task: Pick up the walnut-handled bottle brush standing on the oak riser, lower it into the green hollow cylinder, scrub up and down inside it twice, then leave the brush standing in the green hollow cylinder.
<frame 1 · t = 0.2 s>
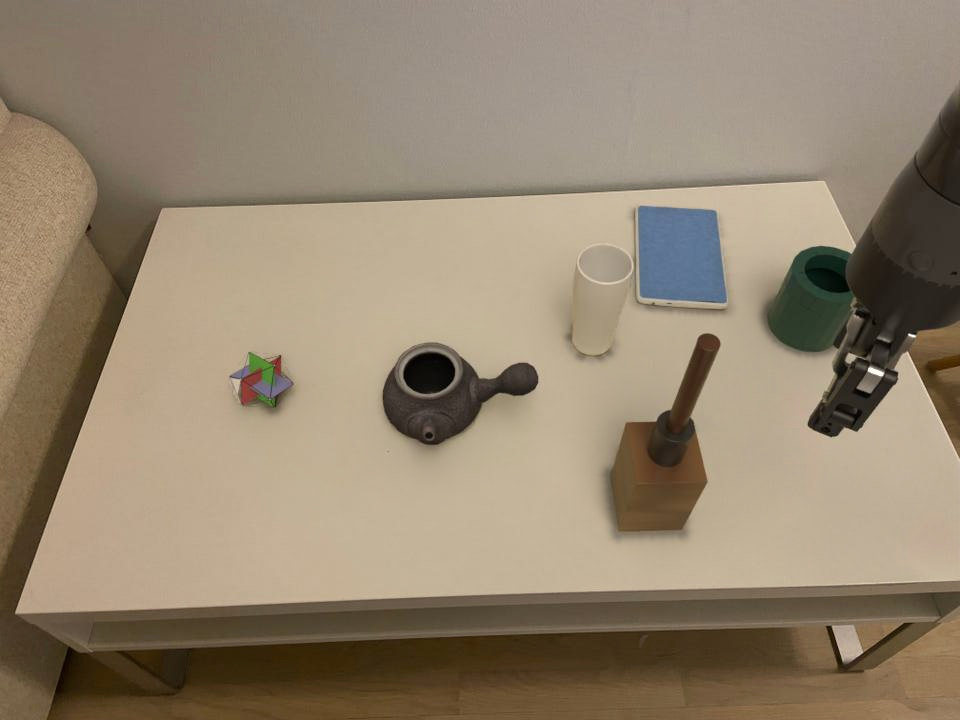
hand: (834, 386, 54), 29 cm above the table, tool pointing down, fingers open, 8 cm apart
riser: (645, 501, 80), on the table
tablet: (677, 258, 102), on the table
geometric puzzle: (269, 395, 90), on the table
drinking glass: (591, 342, 93), on the table
teapot: (459, 414, 87), on the table
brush: (665, 451, 70), point 12 cm above the table, touching riser
green hollow cylinder: (803, 324, 94), on the table
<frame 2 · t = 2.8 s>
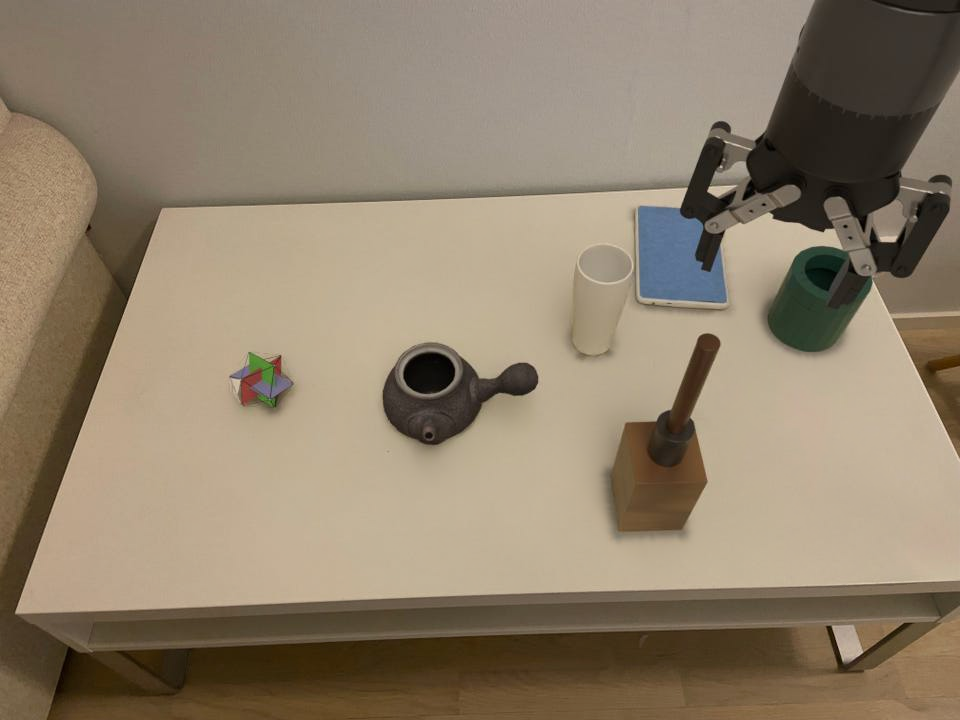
hand: (769, 281, 49), 38 cm above the table, tool pointing down, fingers open, 8 cm apart
nothing on the table moved.
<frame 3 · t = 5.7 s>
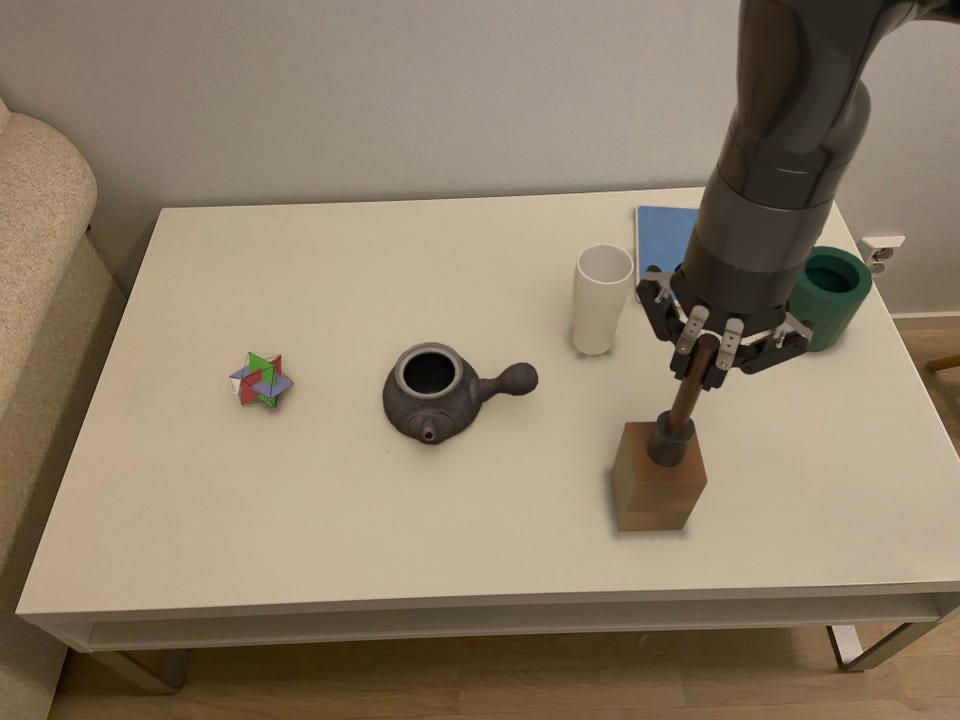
hand: (695, 377, 59), 25 cm above the table, tool pointing down, fingers closed on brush, 2 cm apart
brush: (665, 451, 70), point 12 cm above the table, touching gripper, riser
everything else where it was.
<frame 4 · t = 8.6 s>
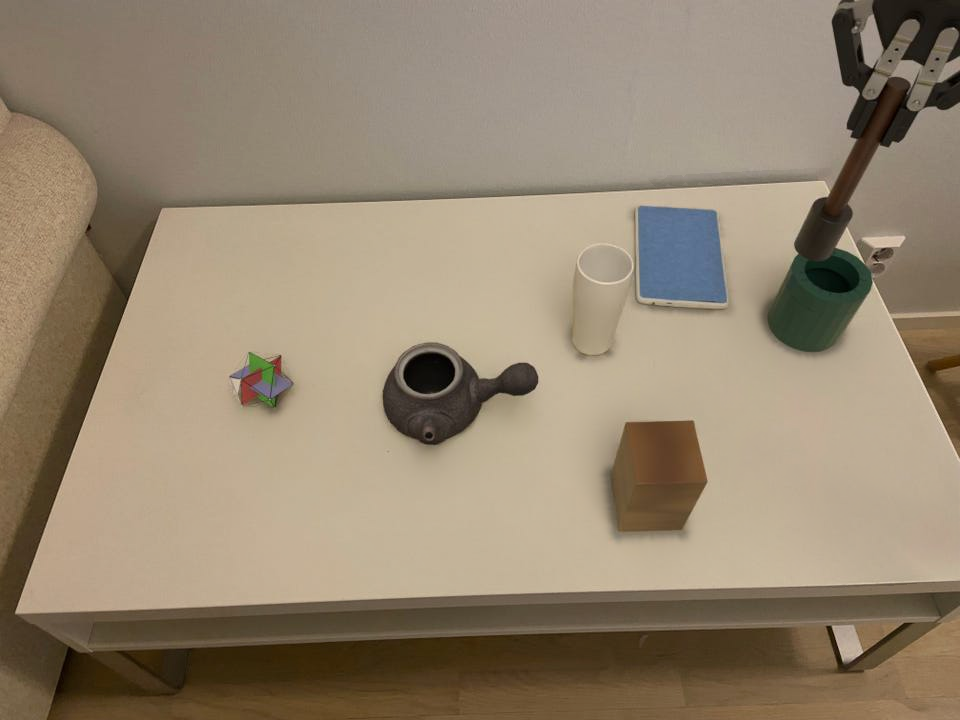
hand: (871, 136, 58), 37 cm above the table, tool pointing down, fingers closed on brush
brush: (812, 248, 69), point 24 cm above the table, touching gripper
everything else where it was.
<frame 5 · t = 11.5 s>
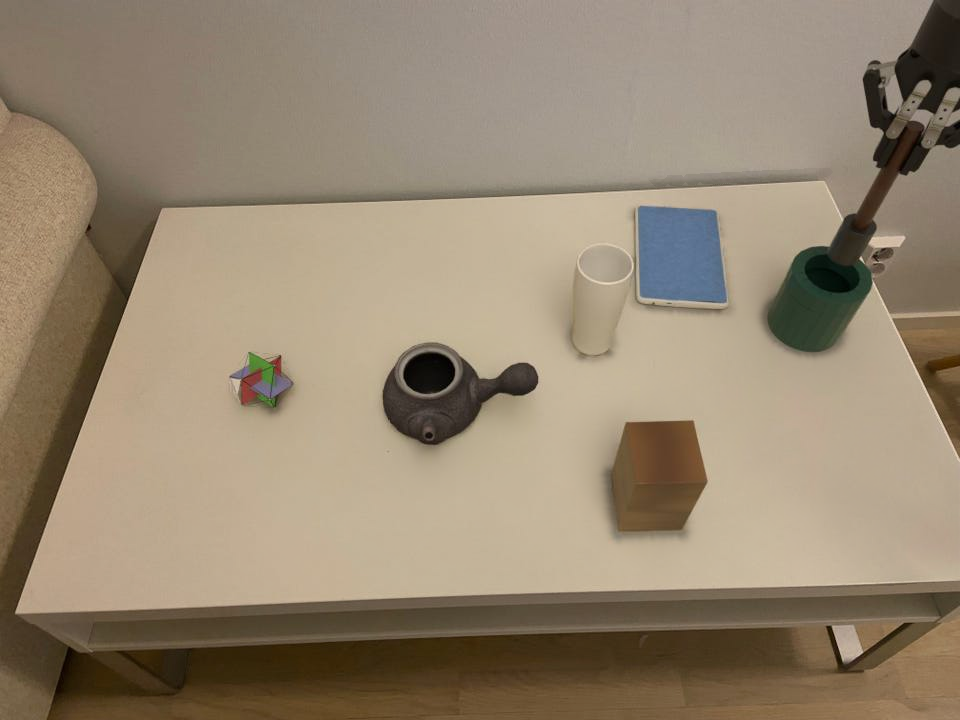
hand: (892, 166, 73), 26 cm above the table, tool pointing down, fingers closed on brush, 2 cm apart
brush: (842, 255, 84), point 13 cm above the table, touching gripper
everything else where it was.
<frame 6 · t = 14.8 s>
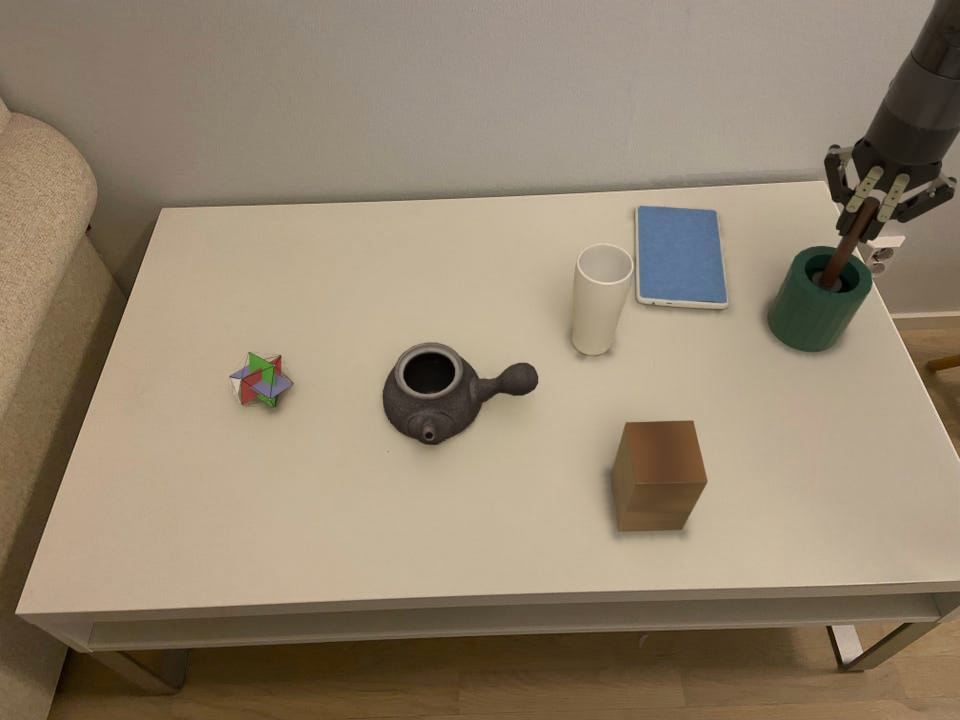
hand: (853, 234, 81), 16 cm above the table, tool pointing down, fingers closed on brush, 2 cm apart
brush: (812, 307, 91), point 3 cm above the table, touching gripper
everything else where it was.
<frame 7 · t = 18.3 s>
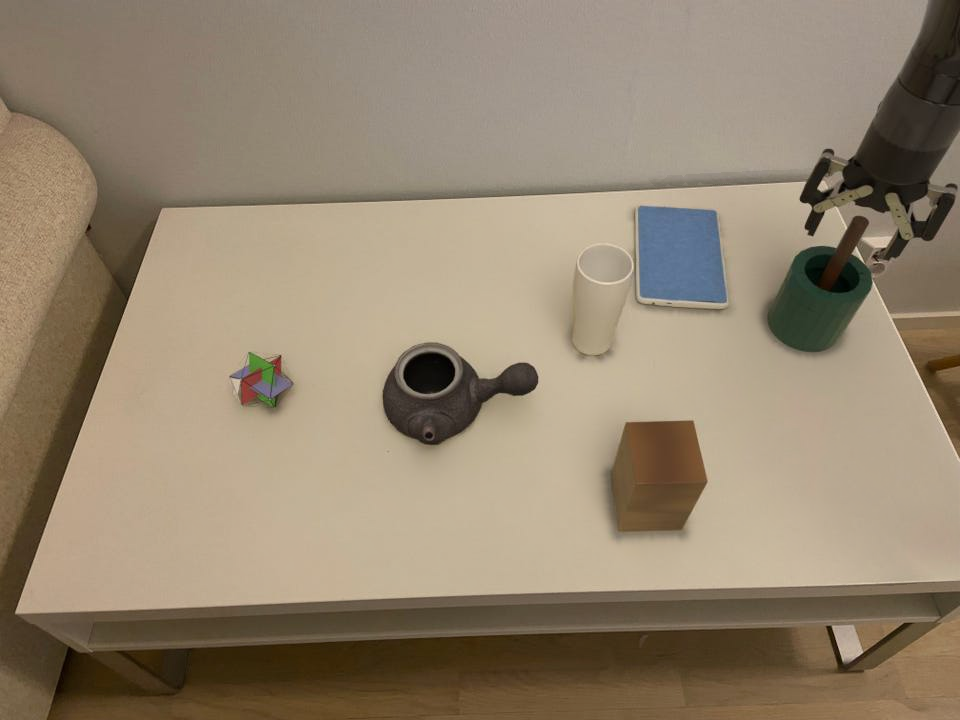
hand: (848, 243, 82), 15 cm above the table, tool pointing down, fingers open, 8 cm apart
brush: (804, 321, 94), point 1 cm above the table, touching green hollow cylinder
everything else where it was.
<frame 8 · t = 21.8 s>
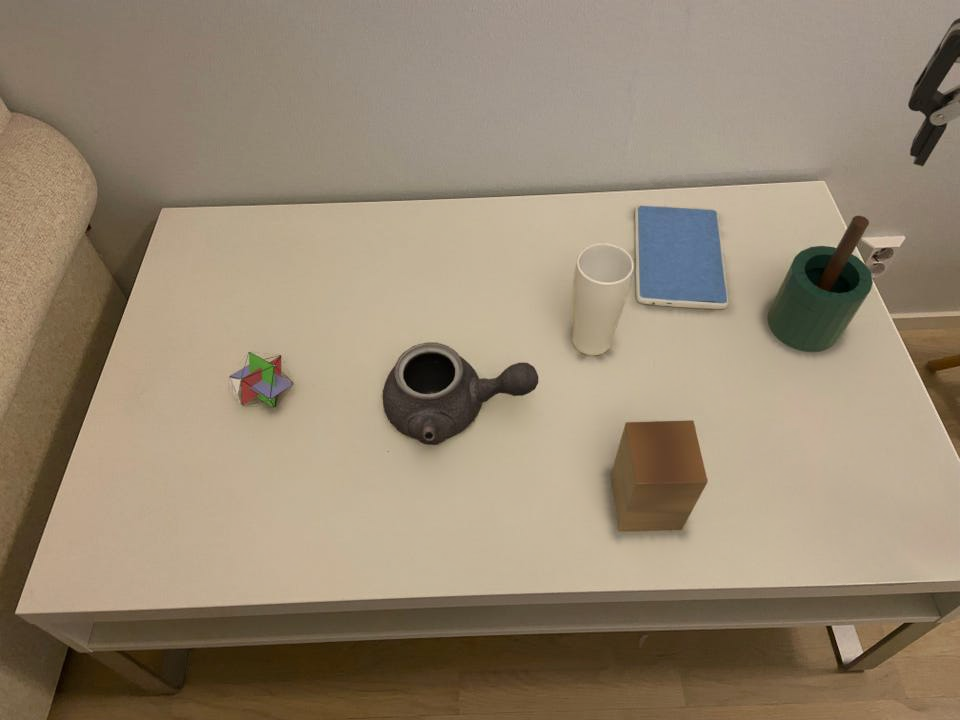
nothing on the table moved.
at the end: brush inside the target area in the green hollow cylinder (0.0 cm from its centre), point 0.6 cm above the green hollow cylinder's base; the gripper is holding nothing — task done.
